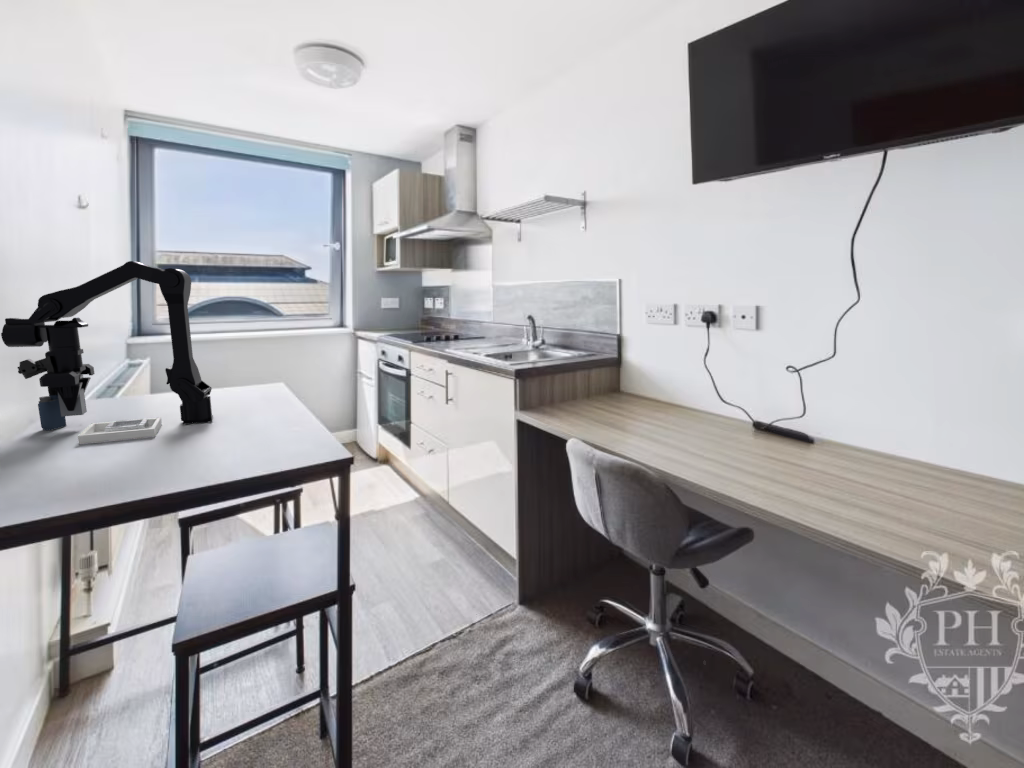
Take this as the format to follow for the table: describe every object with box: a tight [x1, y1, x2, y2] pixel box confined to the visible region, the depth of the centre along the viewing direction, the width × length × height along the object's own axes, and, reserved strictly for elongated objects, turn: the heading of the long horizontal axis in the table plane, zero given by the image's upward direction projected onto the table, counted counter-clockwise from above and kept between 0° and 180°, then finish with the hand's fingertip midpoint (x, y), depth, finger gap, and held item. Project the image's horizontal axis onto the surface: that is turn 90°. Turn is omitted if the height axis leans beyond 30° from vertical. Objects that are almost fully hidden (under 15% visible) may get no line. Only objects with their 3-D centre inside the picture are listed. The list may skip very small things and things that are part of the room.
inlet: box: [105, 418, 149, 433], centre depth 119 cm, size 7×7×2 cm
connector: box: [58, 388, 88, 417], centre depth 122 cm, size 4×4×7 cm
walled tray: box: [77, 417, 163, 445], centre depth 119 cm, size 14×12×2 cm
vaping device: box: [37, 387, 67, 431], centre depth 122 cm, size 3×5×12 cm, turn 174°
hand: (73, 408), depth 122 cm, fingers closed on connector, 4 cm apart
